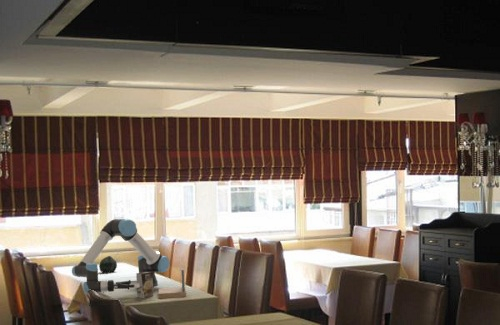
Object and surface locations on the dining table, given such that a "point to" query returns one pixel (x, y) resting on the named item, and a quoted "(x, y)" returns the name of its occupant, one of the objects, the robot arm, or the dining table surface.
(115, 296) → the dining table surface
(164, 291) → the shelf plank
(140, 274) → the coffee box
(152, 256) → the robot arm
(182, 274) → the bookend
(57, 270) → the dining table surface
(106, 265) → the squash
